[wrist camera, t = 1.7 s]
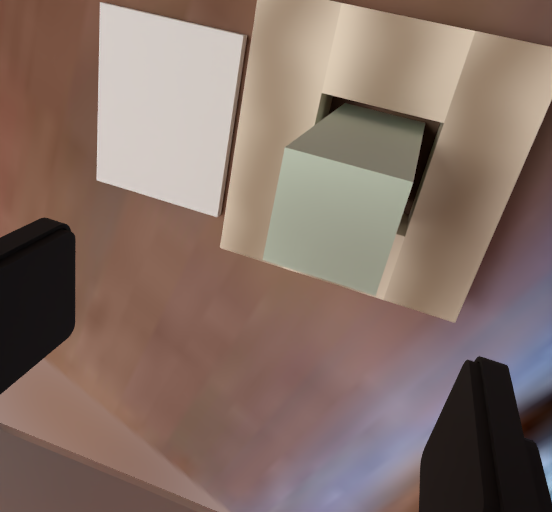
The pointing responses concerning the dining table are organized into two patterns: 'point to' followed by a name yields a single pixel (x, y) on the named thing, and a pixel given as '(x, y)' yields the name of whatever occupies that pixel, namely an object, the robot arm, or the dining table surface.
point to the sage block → (344, 196)
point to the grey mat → (166, 106)
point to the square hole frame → (402, 98)
